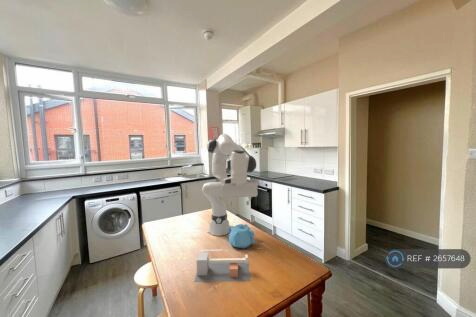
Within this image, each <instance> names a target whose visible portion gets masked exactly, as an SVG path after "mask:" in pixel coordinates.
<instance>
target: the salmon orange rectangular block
mask: <svg viewBox="0 0 476 317" xmlns="http://www.w3.org/2000/svg"><path fill="white" fill-rule="evenodd" d="M230 277H238V263H230Z"/></svg>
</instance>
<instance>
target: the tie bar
mask: <svg viewBox="0 0 476 317" xmlns="http://www.w3.org/2000/svg"><path fill="white" fill-rule="evenodd" d="M244 256H245V257H241V258H239V257H229V258H209V259H207V263H246V264H249V255H248V254H245V255H244Z"/></svg>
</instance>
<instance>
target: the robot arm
mask: <svg viewBox="0 0 476 317" xmlns="http://www.w3.org/2000/svg"><path fill="white" fill-rule="evenodd" d="M206 148H207V150H206V151H207V152H208V153H210V154H212V158H211V159H212V160H211V174H212V177H214V178H216V179H218V180H219V181H210V182H205V183H204V184H203V185H202V188H201V192H202V194H203V195H204V196H205V197H206V198H207V199H208V201H209V202H210V204H211V217H210V218H211V219H210V221H209V228H208V229H207V230H206V231H207V232H206V233H208V234H210V235H212V236H216V237H218V236H225V235H229V227H230V226H231V225H230V221H229V220H228V213H227V203H226V202H225V201H224V200H221V199H220V198H219V197H222V198H226V199H227V201H228V203H229V204H228V205H229V206H232V205H233V201H232V200H231V198H242V197H243V198H248V200H246V206H249V205H250V201H251V200H252V198H253V197H254V198H255V197H258V194H259V193H258V186H259V182H258V180H256V179H248V173H252V172H254V171H255V170H256V168H257V161H256V159H255V157H254V156H252V155H251V154H249V152H247V150H246V149H245V148H244V147H242V146H241V145H239V144H237V142H235V141H234V139H233V138H232V137H231V136H230V135H229V134H227V133H221V134H220V135H219V136H218V138H217V139H216V138H213V139H209V140H208V141H207V144H206ZM226 156H228V157H227V158H226ZM227 172H228V173H230V176H228V175H227Z"/></svg>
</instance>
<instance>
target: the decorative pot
mask: <svg viewBox="0 0 476 317" xmlns="http://www.w3.org/2000/svg"><path fill="white" fill-rule="evenodd" d="M229 226H230V227H229V233H228V234H227V237H228V242H229V244H230V245H231V246H232V247H235V248H240V249H242V250H245V249H246V248H248V247H250V246H251V245H253V244H256V243H255V242H256V241H255V239H254V238H255V232H254V230H252V229H251V227H250V226H249V225H248V224H247V223H246V224H242V223H239V224H236V225H234V226H233V225H229Z"/></svg>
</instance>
